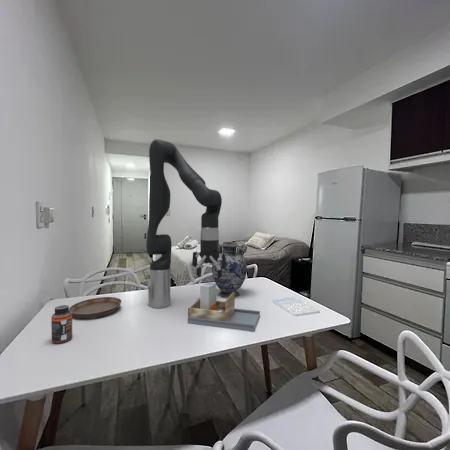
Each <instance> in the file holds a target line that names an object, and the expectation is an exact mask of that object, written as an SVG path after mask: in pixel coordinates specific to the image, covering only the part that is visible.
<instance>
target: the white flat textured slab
mask: <svg viewBox="0 0 450 450" xmlns="http://www.w3.org/2000/svg"><path fill="white" fill-rule="evenodd" d="M271 303H273V304H274V305H276V306H278V307H279V308H280V309H282V310H284V311H285V312H287V313H289V314H290V315H292V316H294V317H303V316H309V315H314V314H319V313H321V311H320V309H319V308H317V307H314V306H313V305H311V304H309V303H308V302H305V301H303V300H301V299H299V298H297V297H295V296H292V297H283V298H282V297H281V298H274V299H272V300H271Z"/></svg>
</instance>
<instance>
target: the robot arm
mask: <svg viewBox="0 0 450 450" xmlns="http://www.w3.org/2000/svg"><path fill="white" fill-rule="evenodd" d="M148 154H149V155H148V158H149V159H148V161H149V195H148V198H149V199H148V222H147V224H148V226H147V233H146V242H145V243H146V245H145V247H146V252H147V254H148V255H151V256H154V255H160V257H159V258H157V259H156V260H154V261H151V262H150V264H149V281H150V282H149V284H148V286H147V289H148V290H147V291H148V292H147V293H148V298H147V299H148V307H150V308H155V309H163V308H166V307H169V306H171V301H172V300H171V265H172V263H171V262H172V245H173V244H172V238H171V236H170V235H169V234H166V233H164V234H157V232H158V229H159V226H160V224H161V222H162V220H163V219H164V218H165V216H166V215H167V213H168V212H169V210H170V208H171V189H170V187H169V184H168V181H167V179H166V176H165V164H169V165H170V166H172V168H174V169H175V170H176V172H177V173H178V176H179V178H180V181H181V182H182V183H183V184H184V185H185V186H186V188H187V189H189V190H190V192H192V195H193V196H194V198H195V199H196V201H197V202H198V203H199V204H200V205H201V206H203V207H205V212H204V213H202V214H201V218H200V223H201V225H200V226H201V227H200V236H199V237H200V246H199V247H200V251H199V252H198V251H197V250H196V251H193V252H192V261H191V262H192V263H191V265H192V267H195V268H196V276H197V278H201V277H202V265H203V264H211V265H212V264H213V263H214V264H215V266H216V267H217V268H218V279H220V278H221V277H222V269H225V268H226V267H227V258H226V253H224V254H219V244H220V241H219V240H220V230H219V216H220V212H221V209H222V203H223V201H222V200H223V199H222V195H221V193H220V191H218V190H216V189H210V188H209V187H208V186H207V183H206V181H205V180H204V179H203V177H202V176H201V175H200V174H198V173H197V172H196V170H194V169H193V167H192V166H191V165H190V164H189V163H188V161H186V159H185V158H184V156H183V155H182V153H181V152H180V151H179V149H178V148H177V146H176V145H175V144H174V143H172V142H169V141H166V140H162V139H157V138H156V139H153V140H152V141H151V143H150V145H149V150H148ZM219 256H220V257H221V259H222V265H221V264H220V262H219V260H218V258H219ZM198 257H200V260H199V262H198Z"/></svg>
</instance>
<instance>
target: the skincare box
mask: <svg viewBox="0 0 450 450" xmlns="http://www.w3.org/2000/svg"><path fill="white" fill-rule="evenodd" d="M199 292H200V298H199V299H200V309H205V310H214V311H216V301H217V285H216V283H215V282H207V283H204V284H202V285H200V290H199Z"/></svg>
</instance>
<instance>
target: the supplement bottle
mask: <svg viewBox="0 0 450 450" xmlns="http://www.w3.org/2000/svg"><path fill="white" fill-rule="evenodd" d="M69 308H70V306H69V305H67V304H63V305H62V304H61V305H57V306H55V307H54V313H53V314H52V315H51V321H50V322H51V323H50V324H51V325H50V326H51V342H52V343H53V344H63V343H67V342H68V341H70V340H72V338H73V315H72V313H71V312H70V311H69Z"/></svg>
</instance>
